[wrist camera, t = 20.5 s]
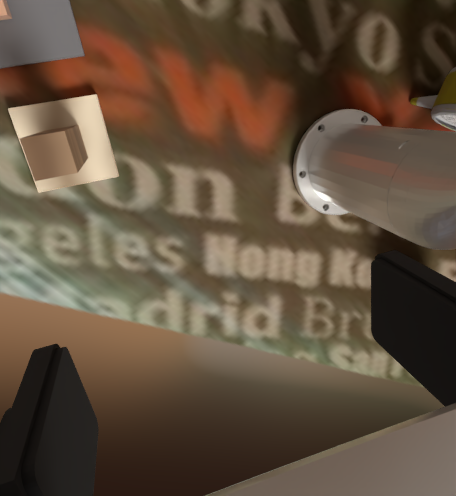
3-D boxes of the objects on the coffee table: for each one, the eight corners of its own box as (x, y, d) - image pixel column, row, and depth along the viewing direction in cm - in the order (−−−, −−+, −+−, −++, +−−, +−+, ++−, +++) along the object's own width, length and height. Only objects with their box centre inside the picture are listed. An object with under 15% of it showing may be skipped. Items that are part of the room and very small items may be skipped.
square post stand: (97, 94, 36) (87, 91, 27) (118, 174, 39) (116, 195, 30) (11, 108, 35) (-30, 109, 26) (41, 190, 38) (14, 217, 29)
